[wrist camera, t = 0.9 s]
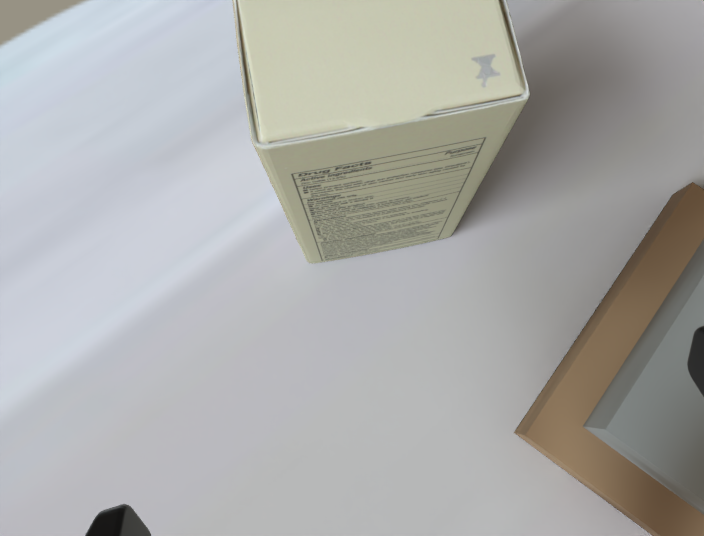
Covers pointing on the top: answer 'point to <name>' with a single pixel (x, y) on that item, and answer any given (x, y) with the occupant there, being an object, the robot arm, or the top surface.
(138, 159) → the top surface
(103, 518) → the robot arm
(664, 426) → the brown picture frame
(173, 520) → the top surface
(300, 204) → the skincare box
